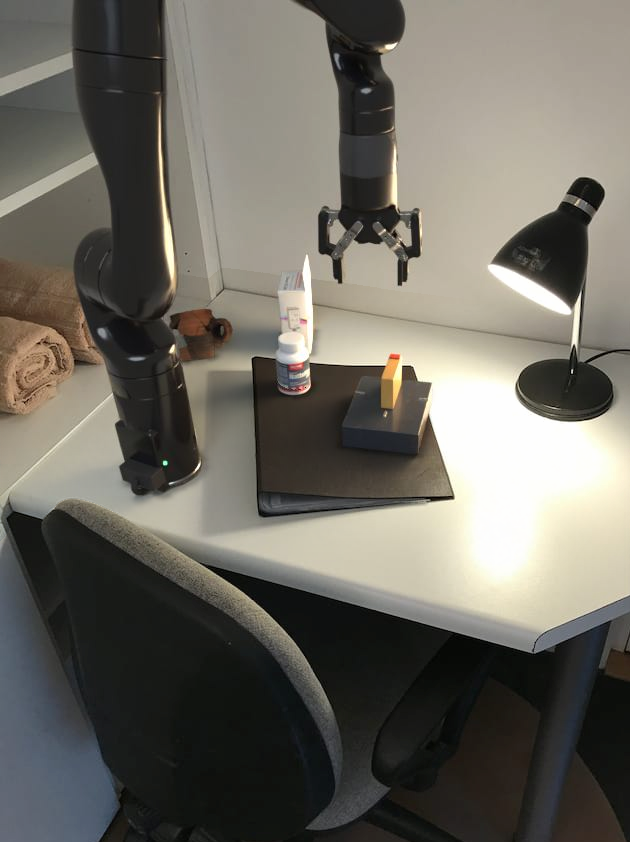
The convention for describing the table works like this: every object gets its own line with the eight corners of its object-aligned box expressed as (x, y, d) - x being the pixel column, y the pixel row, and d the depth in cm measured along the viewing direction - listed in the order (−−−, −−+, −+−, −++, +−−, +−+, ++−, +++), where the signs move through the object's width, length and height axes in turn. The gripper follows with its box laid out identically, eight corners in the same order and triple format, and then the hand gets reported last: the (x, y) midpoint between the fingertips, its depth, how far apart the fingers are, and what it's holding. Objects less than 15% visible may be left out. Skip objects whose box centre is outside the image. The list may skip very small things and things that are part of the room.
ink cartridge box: (286, 331, 136) (279, 252, 127) (314, 331, 136) (309, 252, 127) (282, 355, 130) (274, 273, 120) (311, 354, 130) (305, 273, 120)
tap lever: (393, 409, 110) (393, 378, 106) (380, 408, 110) (380, 377, 107) (401, 384, 115) (401, 353, 112) (389, 383, 115) (389, 352, 112)
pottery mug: (164, 365, 128) (153, 316, 127) (190, 362, 137) (181, 316, 136) (227, 353, 125) (217, 303, 124) (250, 351, 134) (241, 304, 133)
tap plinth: (418, 454, 107) (419, 433, 105) (341, 446, 109) (340, 425, 107) (432, 399, 118) (433, 379, 116) (362, 392, 120) (362, 372, 118)
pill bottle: (291, 399, 119) (286, 350, 113) (271, 386, 122) (266, 337, 116) (317, 387, 121) (314, 338, 116) (297, 375, 124) (293, 326, 119)
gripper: (308, 174, 96) (317, 292, 106) (420, 175, 94) (418, 296, 104) (319, 155, 101) (326, 270, 112) (425, 156, 99) (423, 273, 110)
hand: (371, 282), depth 108 cm, fingers open, 8 cm apart
